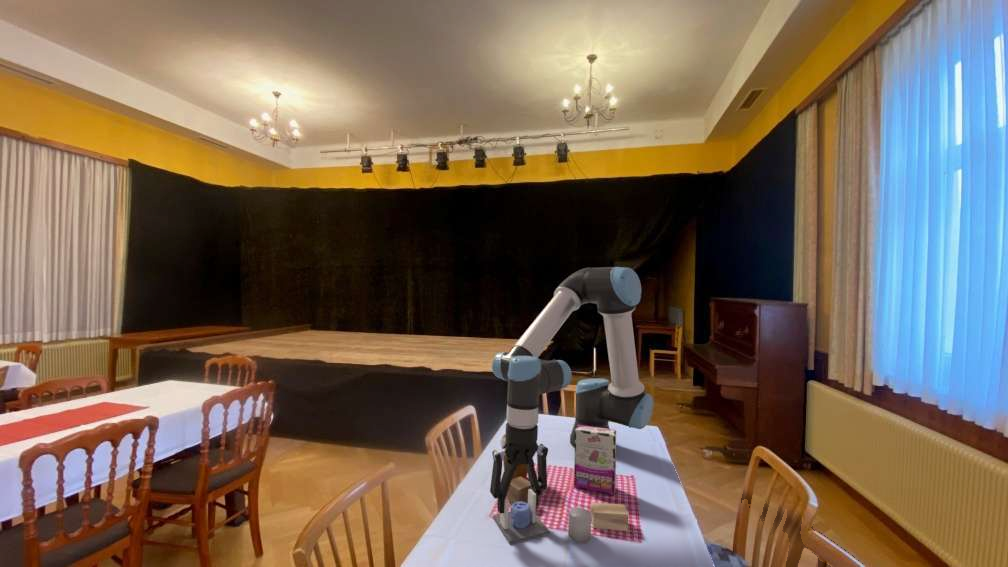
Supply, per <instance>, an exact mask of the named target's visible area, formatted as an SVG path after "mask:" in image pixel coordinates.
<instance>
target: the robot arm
mask: <svg viewBox="0 0 1008 567" xmlns="http://www.w3.org/2000/svg"><path fill="white" fill-rule="evenodd" d="M641 294H642V285H641V280H640V278H639V276H638V274H637V273H636V272H635V270H634V269H632V268H630V267H621V266H607V267H605V266H603V267H585V268H582V269H579V270H577V271H575V272H574V273H572V274H570V275H569V276H568V277H567V278H565V279H564V280H563V281H562V282H561V283H560V284H559V285H558V286H557V287H556V288H555V290H554V292H553V297H552V298H551V300H550V301H549V302H548V303H547V305H546V306H545V307H544V308H543V309H542V311H541V312H540V313H538V315H537V316H536V318H535V319H534V320H533V322H532V323H531V324H530V325H529V327H528V328H527V329H526V330H525V331H524V333H523V334H522V335H521V336H520V337H519V338H518V340H517V341H516V342H515V344H514V345H513V347H511V349H510V350H509V351H508V352H507V351H502V352H498V353H497V354H495V356H494V357H493V359H492V363H491V370H492V373H493V375H494V376H495V377H496V378H498V379H501V380H503V381H505V382H507V401H506V420H505V421H506V424H505V434H506V436H505V439H506V443H505V446H504V448H503V449H502V448H501V449H499V450H498V451H497V450H496V449H494V450H493V451H492V457H493V458H492V459H493V463H492V471H491V479H490V487H489V488H490V489H489V493H490V494H491V495H492V497H493V499H497V504H496V505H497V506H496V507H497V511H498V512H499V514H500V523H501V525H502V526H503V528H504V529H508V512H509V504H510V503H509V499H508V498H507V497H506V495H507V492H508V489H509V486H510V483H511V480H512V477H513V474H514V471H516V469H517V466H518V465H521V464H525V465H526V469H527V477H528V481H529V482H530V484H531V487H532V489H528V505H529V508H530V521H531V522H532V523H535V514H536V510H537V508H536V507H537V506H539V504H540V496H541V495H542V493H543V492H542V491H543V490H546V489H547V488H548V475H547V474H548V472H547V471H548V468H547V467H548V466H547V456H548V453H549V448H548V447H547V446H545V445H544V444H543V443H540V444H538V442H537V441H538V432H539V426H538V423H539V411H540V410H539V408H540V407H539V406H540V405H539V404H540V395H544V394H548V393H552V392H558V391H561V390H562V389H565V388H568V386H569V385H570V384H571V382H572V376H573V374H572V373H573V372H572V369H571V368H570V366H569V364H568V363H567V362H566V361H564V360H561V359H557V360H556V359H552V360H546V359H540V358H539V357H540V355H541V354H542V353H543V351H544V350H545V349H546V347H547V346H548V345H549V343H550V342H551V340H553V338H554V337H555V335H556V334H557V332H559V330H560V329H561V327H562V326H563V324H564V323H565V322H566V321H567V319H568V318H569V317H570V315H571V314H572V313H573V312H574V311H577V310H579V309H580V307H581V306H582V305H584V304H589V303H590V304H596V306H597V307H596V308H597V313H598V314H600V315H602V317H603V324H604V332H605V333H604V334H605V339H606V340H605V341H606V347H607V355H608V362H609V370H610V378H611V382H610V380H608V379H606V378H586V379H585V378H584V379H580V380H579V381H578V382H577V383H576V386H575V387H576V388H575V421H574V424H573V427H572V429H571V433H570V435H569V444H570V445H571V446H572V447H573V448H575V429H576V428H577V425H584V426H591V427H599V428H606V429H611V428H610V425H609V422H612V423H615V424H619V425H623V426H625V427H628V428H630V429H631V428H633V429H637V430H641V429H644V428H645V427H646V426H647V425H648V424H649V422H650V419H651V417H652V414H653V411H654V397H653V395H651V394H649V393H646V390H645V389H646V388H645V384H643V383H642V382H641V381H640V380H639V379H640V378H639V372H638V371H639V370H638V361H637V353H636V344H635V335H634V327H633V319H632V318H633V316H632V313H633V312H634V311H635V310H636V307H637V305H638V304H639V303H640V301H641V297H642V295H641ZM535 454H536V460H537V461H536V462H537V464H535V461H534V456H535ZM504 455H506V456H507V457H508V458H507V461H506V467H505V470H504V469H503V460H504ZM535 465H537V466H536V467H537V471H536V468H535ZM503 470H504V471H503ZM502 472H503V473H502Z"/></svg>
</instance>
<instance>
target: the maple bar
mask: <svg viewBox="0 0 1008 567" xmlns="http://www.w3.org/2000/svg"><path fill="white" fill-rule="evenodd" d="M590 513H591V526H592V525H593V526H592V529H593V528H599V529H598V530H605V529H611V530H612V529H613V530H612V531H620V530H623V531H624V532H628V531H629V513H628V510H627V509H626V506H625V504H622V503H621V504H617V503H604V502H603V503H600V502H590ZM611 530H610V531H611ZM623 531H622V532H623Z"/></svg>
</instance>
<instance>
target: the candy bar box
mask: <svg viewBox="0 0 1008 567" xmlns="http://www.w3.org/2000/svg"><path fill="white" fill-rule="evenodd" d="M573 462H574V464H573V465H574V467H573V468H574V470H573V472H574V473H573V474H574V475H573V487H574V488H575V489H581V490H585V491H589V492H595V493H600V494H603V495H604V494H606V495H610V496H615V492H616V483H617V482H616V481H617V479H616V478H617V474H616V473H617V470H616V468H617V429H612V428H610V429H606V428H599V427H591V426H584V425H577V428H576V429H575V447H574V461H573Z"/></svg>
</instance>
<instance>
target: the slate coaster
mask: <svg viewBox="0 0 1008 567" xmlns="http://www.w3.org/2000/svg"><path fill="white" fill-rule="evenodd" d="M492 519H493V521H494V522H495V524H496V526H497V527H498V528H499V530H500V532H501V533H502V534H503V536H504V538H505V539H506V541H507V543H508V544H509V545H513V544H516V543H520V542H523V541H528V540H531V539H535V538H539V537H542V536H546V535H550V533H551V531H550V530H549V528H548V527H547V526H546V525H545V523H544V522H543V521H542V520H541V518H540V517H539V516H538V515H537V514H536V513H535V523H532V522H531V521H530V524H529V525H528V526H527V527H525V528H516V527H514V526H513V525H512V522H511V510H510V511H508V529H504V528H503V526H502V525H501V523H500V513H499V514H493V515H492Z"/></svg>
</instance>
